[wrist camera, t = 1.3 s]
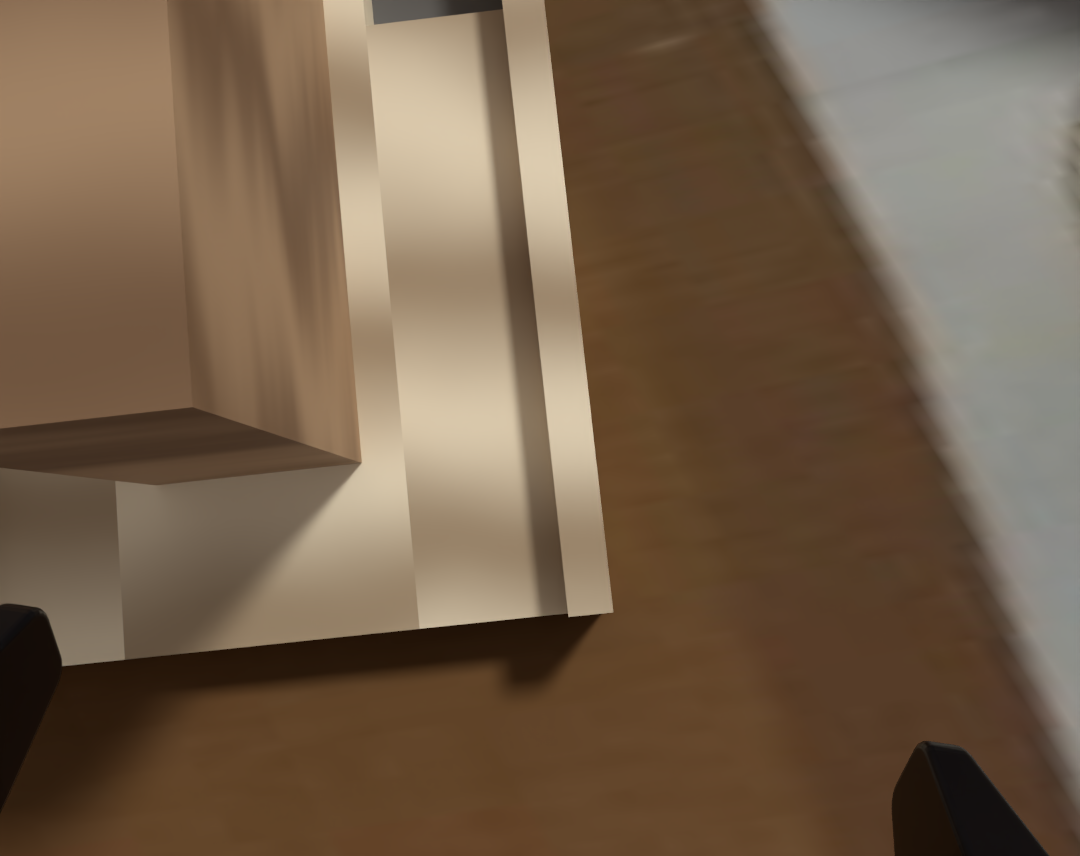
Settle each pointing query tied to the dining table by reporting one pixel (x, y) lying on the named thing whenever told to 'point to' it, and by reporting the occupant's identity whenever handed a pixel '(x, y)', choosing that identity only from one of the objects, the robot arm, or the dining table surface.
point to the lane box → (380, 389)
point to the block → (171, 242)
